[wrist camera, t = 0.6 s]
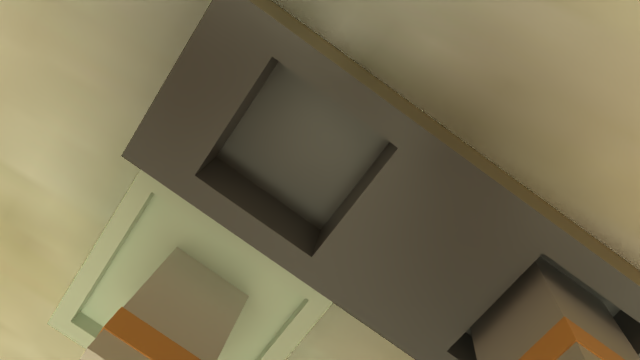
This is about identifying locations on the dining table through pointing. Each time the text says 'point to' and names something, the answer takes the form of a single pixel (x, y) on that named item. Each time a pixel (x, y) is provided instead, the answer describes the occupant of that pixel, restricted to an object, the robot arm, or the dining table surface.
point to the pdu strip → (377, 200)
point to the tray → (204, 246)
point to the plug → (172, 316)
